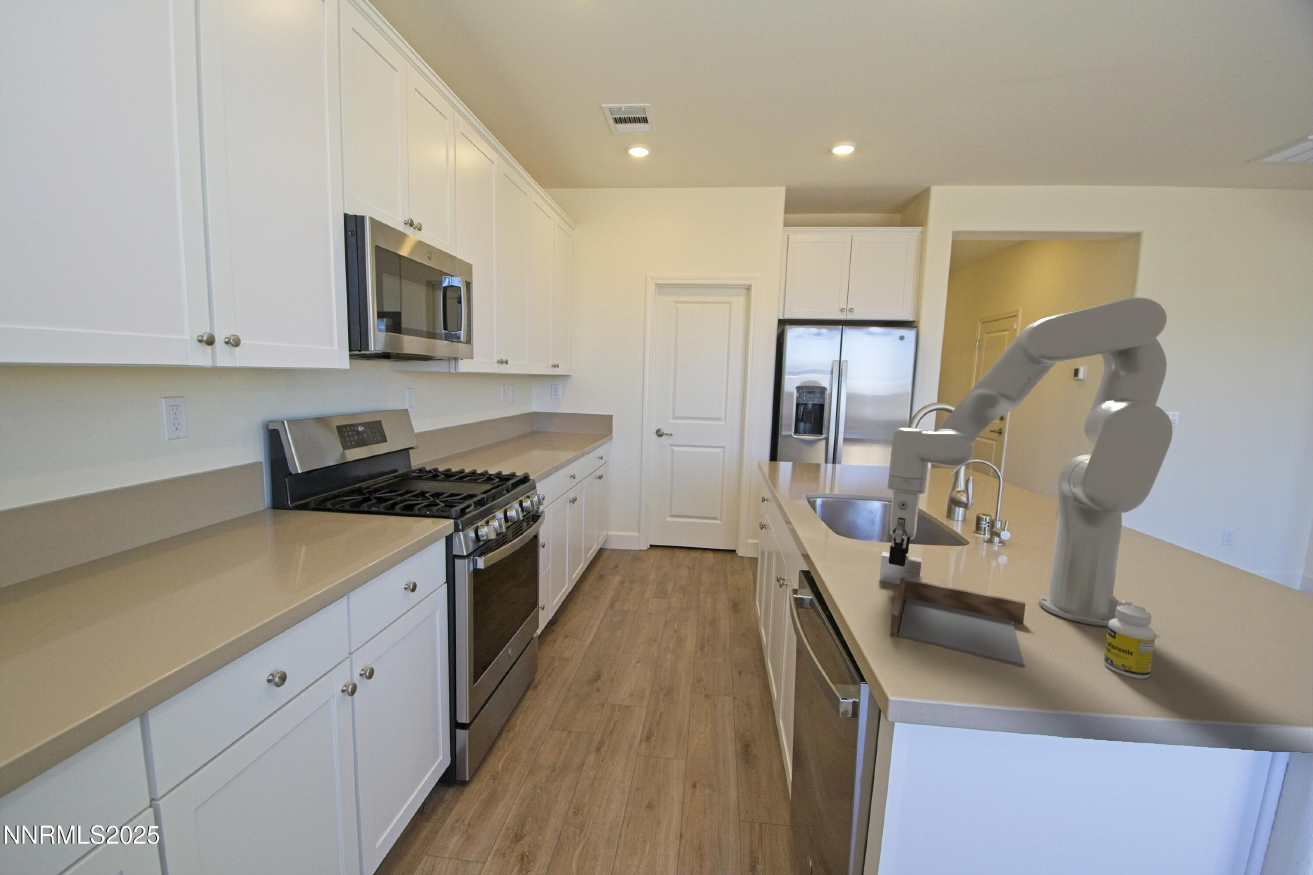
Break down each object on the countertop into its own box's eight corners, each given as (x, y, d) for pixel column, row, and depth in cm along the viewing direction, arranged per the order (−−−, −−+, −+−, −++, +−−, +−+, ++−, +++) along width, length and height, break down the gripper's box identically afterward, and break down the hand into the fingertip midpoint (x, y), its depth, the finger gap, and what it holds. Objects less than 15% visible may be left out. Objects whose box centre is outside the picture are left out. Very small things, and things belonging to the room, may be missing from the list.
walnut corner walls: (1022, 620, 96) (1024, 600, 96) (1038, 672, 78) (1041, 648, 78) (899, 595, 106) (901, 576, 106) (889, 635, 89) (891, 613, 88)
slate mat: (1011, 622, 95) (1012, 620, 95) (1023, 666, 80) (1024, 664, 80) (906, 599, 104) (906, 597, 104) (898, 635, 89) (898, 633, 89)
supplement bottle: (1094, 660, 82) (1101, 603, 81) (1124, 660, 83) (1132, 602, 82) (1127, 680, 77) (1135, 618, 76) (1160, 679, 77) (1168, 618, 76)
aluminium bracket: (879, 580, 115) (881, 555, 114) (883, 568, 122) (885, 544, 122) (919, 588, 111) (921, 562, 110) (920, 575, 118) (923, 551, 118)
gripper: (924, 493, 102) (914, 574, 104) (927, 480, 117) (919, 551, 119) (883, 487, 106) (875, 565, 108) (891, 476, 121) (884, 545, 123)
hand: (898, 558), depth 114 cm, fingers open, 9 cm apart
